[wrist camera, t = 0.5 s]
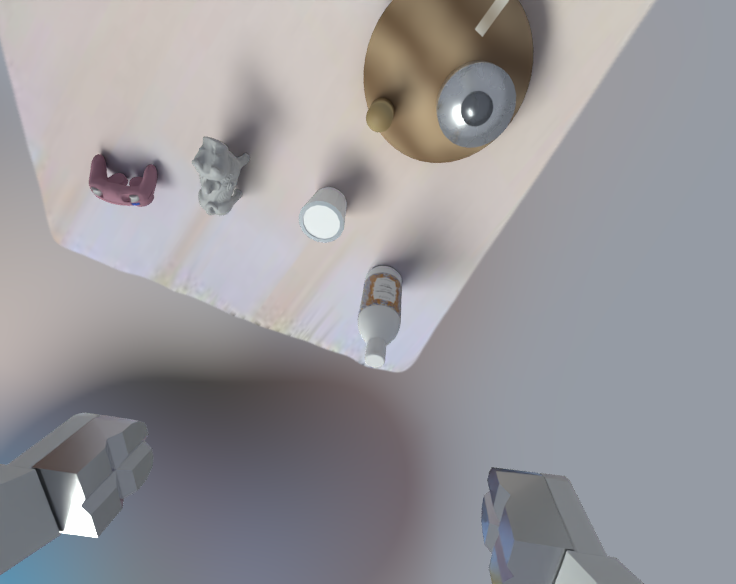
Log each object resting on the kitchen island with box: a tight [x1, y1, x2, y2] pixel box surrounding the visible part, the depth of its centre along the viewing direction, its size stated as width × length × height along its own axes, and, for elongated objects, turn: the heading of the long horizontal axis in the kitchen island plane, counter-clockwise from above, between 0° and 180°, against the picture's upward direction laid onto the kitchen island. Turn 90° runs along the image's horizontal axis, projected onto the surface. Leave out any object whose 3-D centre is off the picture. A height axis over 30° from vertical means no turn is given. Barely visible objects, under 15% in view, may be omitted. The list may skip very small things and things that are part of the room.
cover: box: [436, 61, 516, 148], centre depth 42 cm, size 9×9×4 cm
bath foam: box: [358, 266, 402, 367], centre depth 58 cm, size 7×7×20 cm
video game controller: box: [89, 154, 157, 207], centre depth 56 cm, size 10×5×7 cm, turn 81°
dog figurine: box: [192, 137, 250, 215], centre depth 51 cm, size 5×13×11 cm, turn 158°
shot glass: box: [299, 187, 347, 243], centre depth 55 cm, size 7×7×7 cm
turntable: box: [364, 0, 533, 163], centre depth 42 cm, size 20×20×6 cm
